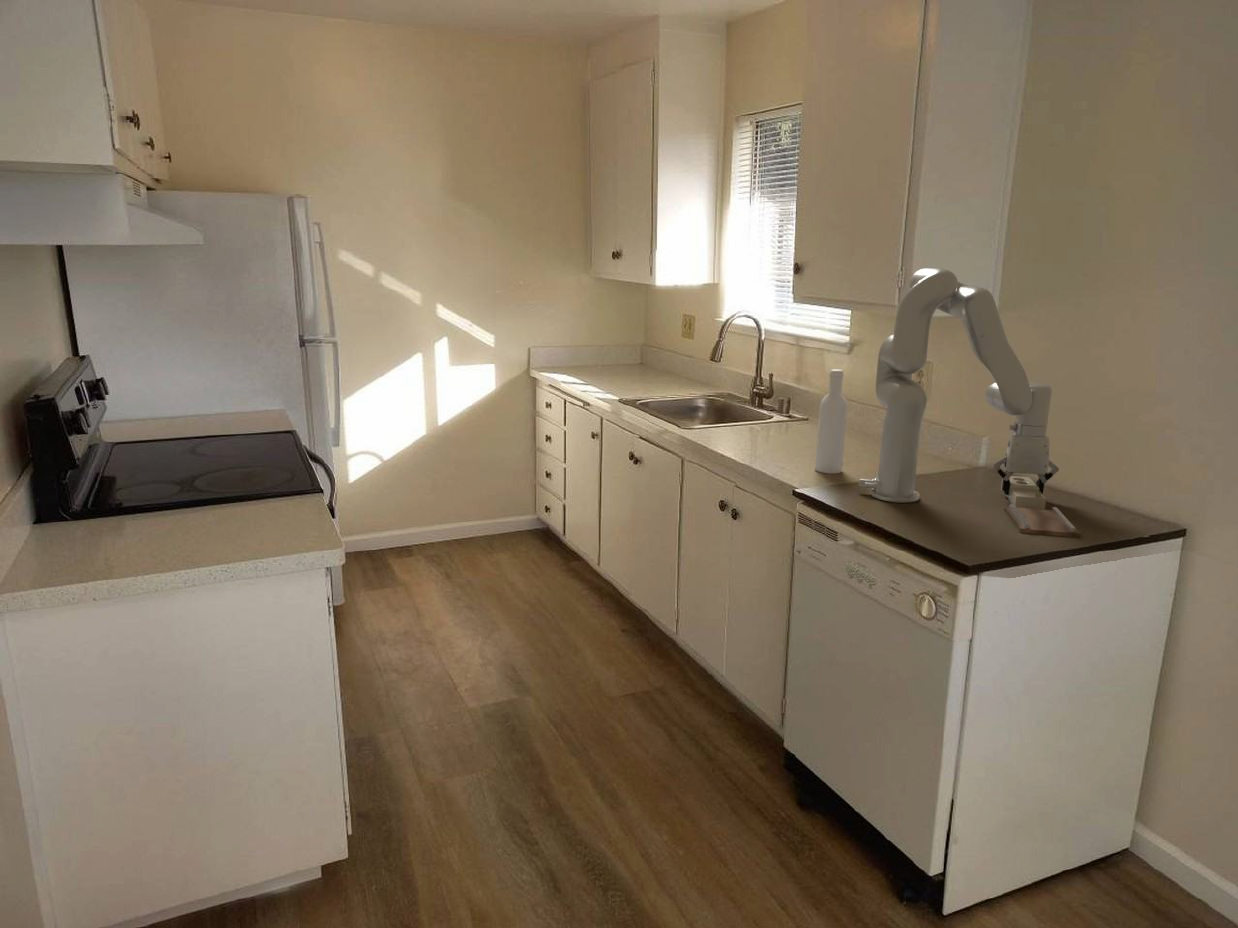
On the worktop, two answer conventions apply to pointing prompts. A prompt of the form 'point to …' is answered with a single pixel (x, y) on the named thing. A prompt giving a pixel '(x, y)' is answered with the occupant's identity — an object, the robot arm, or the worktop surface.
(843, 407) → the bottle
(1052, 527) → the rail board
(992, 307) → the robot arm
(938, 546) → the worktop surface
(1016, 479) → the electrical outlet
